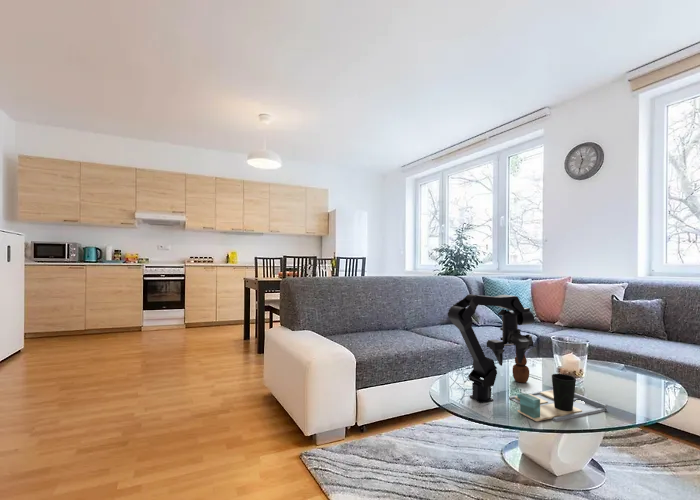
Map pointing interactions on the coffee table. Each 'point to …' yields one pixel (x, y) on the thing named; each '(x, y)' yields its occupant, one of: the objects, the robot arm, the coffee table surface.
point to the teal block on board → (540, 409)
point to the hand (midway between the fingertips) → (510, 364)
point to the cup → (563, 391)
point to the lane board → (586, 408)
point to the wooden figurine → (521, 370)
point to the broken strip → (546, 393)
